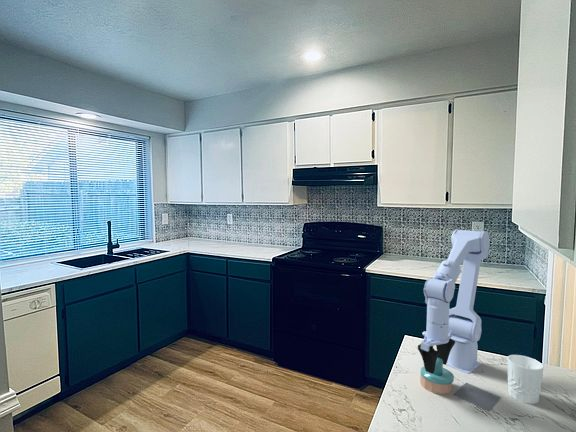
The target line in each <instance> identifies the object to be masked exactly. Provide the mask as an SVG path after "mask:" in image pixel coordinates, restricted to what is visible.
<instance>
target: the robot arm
mask: <svg viewBox="0 0 576 432" xmlns="http://www.w3.org/2000/svg"><path fill="white" fill-rule="evenodd" d="M450 237H451V240H450V241H451V245H452V246H451V249H450V251H449V252H450V253H449V255H448V258H447V259H446V260H442V262H441V263H440V264H439V266H438V267H437V269H436V271H435V272H434V275H433V276H432V277H431V278H428V279H427V280H425V283H424V286H423V294H424V298H425V300H424V303H425V304H426V329H425V330H426V331H425V330H424V331H423V332H421V333H422V336H424V337H423V339H422V341H420V344H418V345H417V351H419V354H420V356H421V359H422V362H423V367H425V371H427V372H429V373H431V374H433V373H434V371H435V365H436V360H437V358H441V359H442V360H443V366H448V367H450V368H452V369H455V370H457V371H460V372H462V373H465V374H468V375H469V374H470V373H472V372H473V371H474V370H475V369H477V368H478V367H479V366H480V365H481V363H480V362H478V349H479V348H478V341H480V339H481V335H482V318H481V317H480V316H479V315H478V313H477V312H475V310H474V305H475V301H476V300H475V299H476V292H477V285H478V281H479V274H480V267H481V264H482V260H485V259H487V258H488V256H489V251H490V241H491V239H490V234H489V233H488V232H487V231H485V230H484V231H480V230H479V231H478V230H464V229H459V228H458V229H457V228H456V229H455V230H454V231H453V232H452V234H451V236H450ZM461 264H462V268H461ZM459 277H460V279H459V280H460V282H459V286H458V287H459V289H458V293H457V299H456V305H455V307H452V308H450V304H451V301H452V299H453V298H454V294H455V289H456V282H457V280H458V278H459ZM462 317H463V318H462ZM434 346H435V347H436V349H435V348H434Z"/></svg>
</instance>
